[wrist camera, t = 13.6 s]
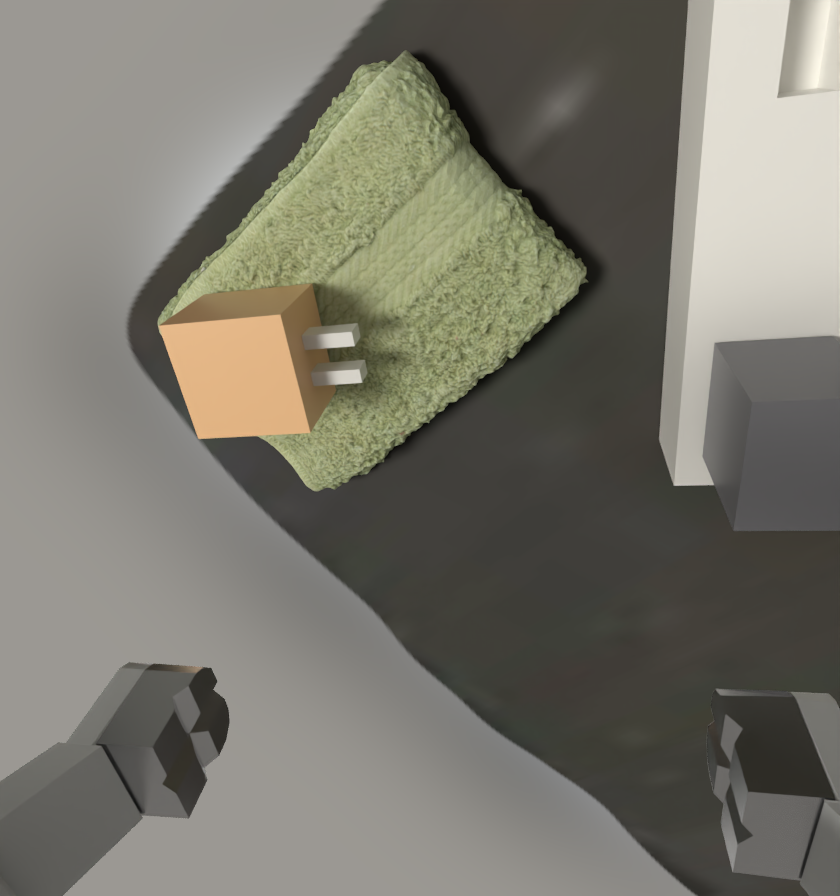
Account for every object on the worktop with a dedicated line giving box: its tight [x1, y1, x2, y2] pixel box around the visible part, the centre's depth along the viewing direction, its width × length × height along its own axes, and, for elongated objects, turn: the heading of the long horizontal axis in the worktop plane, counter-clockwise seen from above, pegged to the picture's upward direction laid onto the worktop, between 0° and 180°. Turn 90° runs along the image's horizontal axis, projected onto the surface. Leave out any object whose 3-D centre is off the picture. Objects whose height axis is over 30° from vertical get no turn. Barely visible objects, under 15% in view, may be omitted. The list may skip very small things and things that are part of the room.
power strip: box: [659, 0, 840, 486], centre depth 23 cm, size 22×6×5 cm, turn 7°
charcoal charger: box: [702, 336, 840, 531], centre depth 24 cm, size 5×4×7 cm
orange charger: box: [159, 283, 367, 439], centre depth 27 cm, size 5×4×7 cm
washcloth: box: [158, 50, 588, 491], centre depth 29 cm, size 13×18×3 cm
